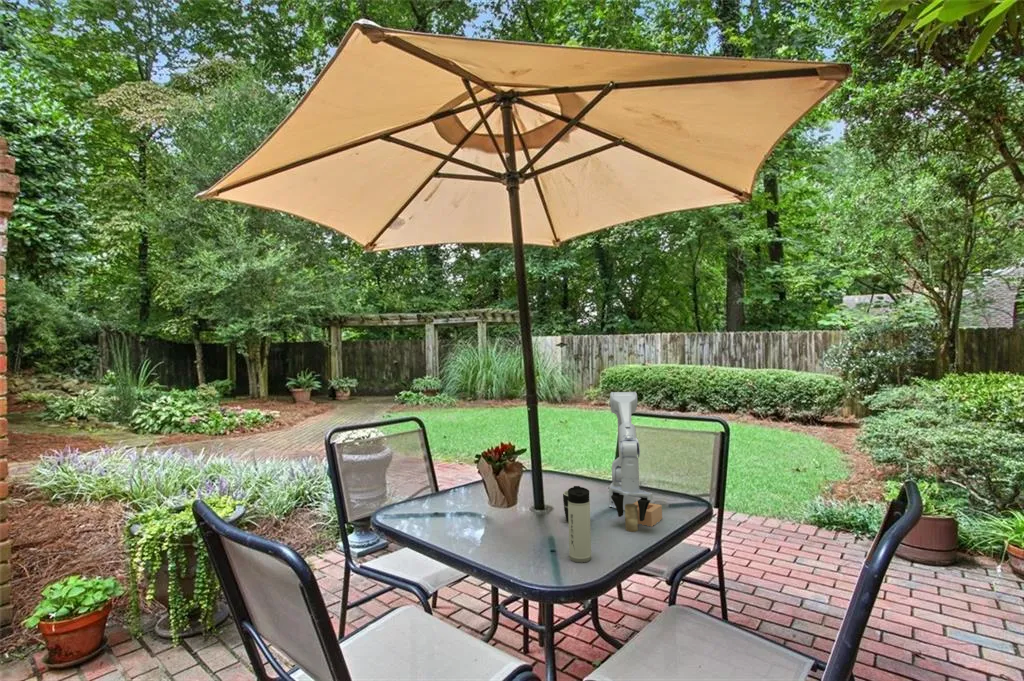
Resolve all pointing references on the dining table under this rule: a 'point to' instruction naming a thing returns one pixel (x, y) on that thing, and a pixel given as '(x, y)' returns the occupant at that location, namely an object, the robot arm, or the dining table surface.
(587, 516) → the travel mug
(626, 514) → the peg
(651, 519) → the socket block
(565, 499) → the mug
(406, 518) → the dining table surface
